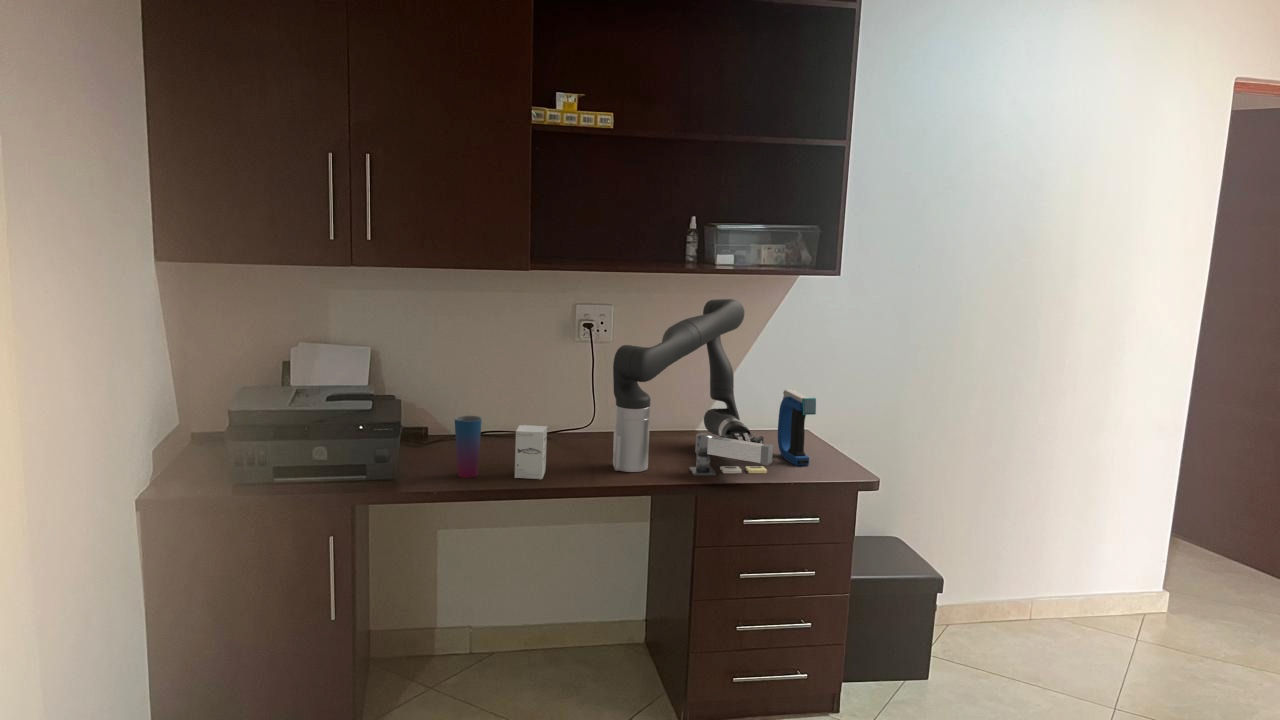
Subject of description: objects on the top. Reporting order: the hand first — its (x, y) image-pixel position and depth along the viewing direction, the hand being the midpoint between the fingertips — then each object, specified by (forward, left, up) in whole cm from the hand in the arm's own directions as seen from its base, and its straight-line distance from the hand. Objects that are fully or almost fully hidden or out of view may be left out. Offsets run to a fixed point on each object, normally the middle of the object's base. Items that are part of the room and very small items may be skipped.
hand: (749, 449), depth 246 cm
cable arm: (-4, +1, -2) cm, 5 cm away
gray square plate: (-11, +6, -8) cm, 15 cm away
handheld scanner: (+18, +18, -8) cm, 26 cm away
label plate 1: (-3, +7, -8) cm, 11 cm away
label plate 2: (+4, +7, -8) cm, 11 cm away
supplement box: (-57, +3, -8) cm, 58 cm away
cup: (-73, +3, -8) cm, 73 cm away
